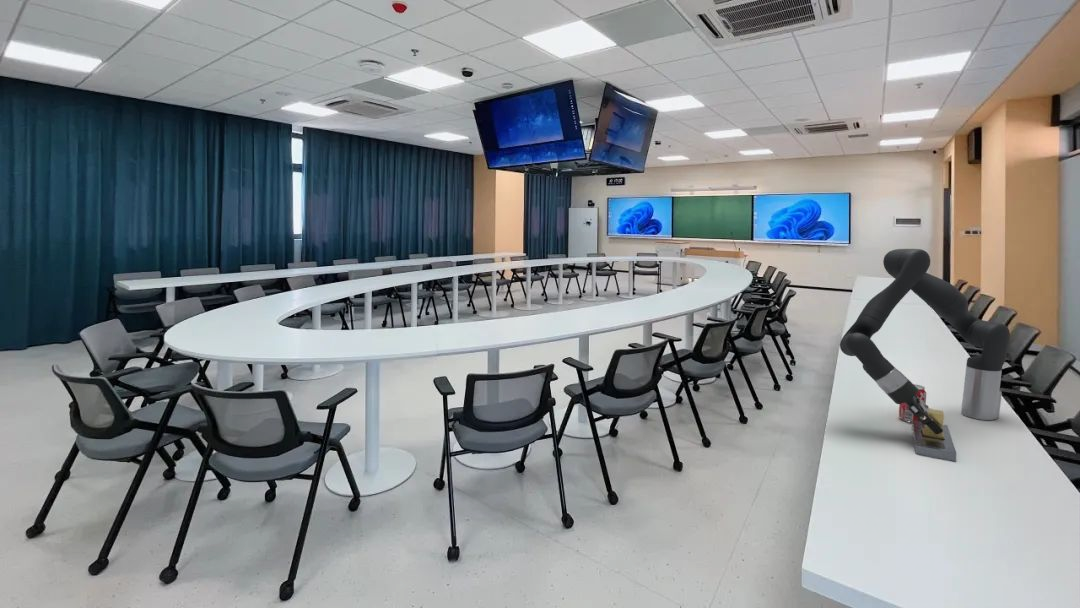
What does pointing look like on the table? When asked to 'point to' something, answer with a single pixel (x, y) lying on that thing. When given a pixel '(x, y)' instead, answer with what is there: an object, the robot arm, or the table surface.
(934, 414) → the tan square peg
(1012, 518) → the table surface
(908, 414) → the soda can
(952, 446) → the grey square hole plate
